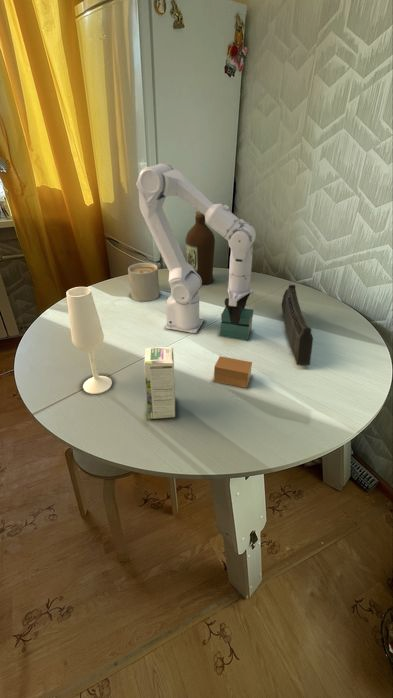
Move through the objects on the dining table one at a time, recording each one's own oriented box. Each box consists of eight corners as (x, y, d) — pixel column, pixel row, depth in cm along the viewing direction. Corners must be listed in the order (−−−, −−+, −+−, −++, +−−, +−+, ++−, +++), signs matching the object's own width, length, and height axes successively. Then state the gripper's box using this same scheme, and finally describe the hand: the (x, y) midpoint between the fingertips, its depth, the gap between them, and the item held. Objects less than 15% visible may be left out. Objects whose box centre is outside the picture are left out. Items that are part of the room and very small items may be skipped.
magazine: (317, 344, 81) (301, 264, 100) (303, 344, 82) (290, 263, 100) (302, 385, 95) (290, 307, 114) (290, 385, 95) (280, 307, 114)
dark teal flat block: (221, 320, 99) (221, 314, 98) (225, 312, 103) (226, 305, 102) (249, 325, 97) (249, 318, 96) (252, 316, 101) (253, 309, 100)
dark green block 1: (220, 329, 101) (220, 322, 99) (225, 320, 105) (225, 313, 104) (248, 333, 99) (248, 327, 97) (251, 324, 103) (252, 317, 102)
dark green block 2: (220, 335, 102) (220, 329, 101) (224, 326, 106) (225, 320, 105) (247, 340, 100) (248, 333, 99) (251, 331, 104) (251, 324, 103)
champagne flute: (87, 375, 87) (67, 284, 73) (114, 375, 87) (99, 284, 73) (79, 393, 81) (55, 298, 68) (108, 394, 81) (90, 299, 68)
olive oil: (203, 272, 142) (203, 207, 128) (219, 281, 134) (221, 213, 120) (180, 279, 137) (178, 211, 123) (196, 288, 129) (196, 217, 115)
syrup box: (149, 401, 79) (143, 347, 71) (175, 399, 79) (173, 346, 71) (148, 419, 74) (142, 364, 66) (176, 417, 75) (173, 362, 66)
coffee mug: (159, 300, 121) (157, 272, 115) (130, 302, 120) (127, 274, 115) (159, 284, 132) (157, 258, 126) (132, 286, 131) (129, 259, 126)
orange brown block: (214, 374, 83) (214, 366, 82) (219, 363, 87) (219, 356, 86) (247, 380, 81) (248, 373, 80) (251, 369, 85) (252, 362, 84)
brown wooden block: (213, 381, 85) (214, 374, 83) (218, 370, 88) (219, 363, 87) (246, 388, 83) (247, 380, 81) (250, 376, 86) (251, 369, 85)
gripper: (249, 285, 86) (245, 332, 93) (260, 264, 97) (255, 308, 105) (221, 281, 88) (219, 328, 95) (235, 262, 99) (232, 305, 107)
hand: (236, 318), depth 100 cm, fingers closed on dark teal flat block, 5 cm apart
